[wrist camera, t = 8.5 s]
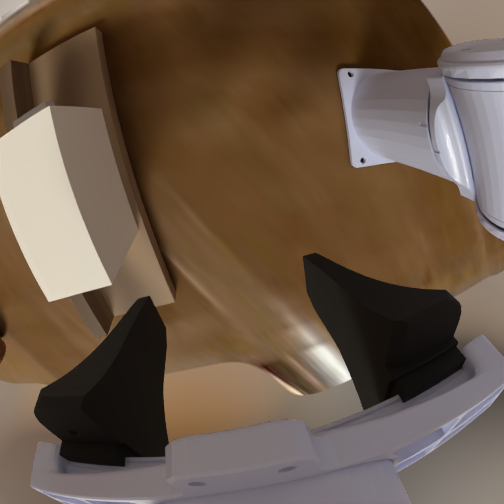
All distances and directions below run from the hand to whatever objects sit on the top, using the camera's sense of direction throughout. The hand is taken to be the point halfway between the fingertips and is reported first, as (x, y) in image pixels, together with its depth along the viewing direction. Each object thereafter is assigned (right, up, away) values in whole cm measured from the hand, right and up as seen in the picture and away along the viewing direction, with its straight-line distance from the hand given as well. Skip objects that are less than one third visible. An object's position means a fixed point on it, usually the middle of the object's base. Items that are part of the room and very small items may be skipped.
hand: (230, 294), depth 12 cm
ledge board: (-11, +7, +5) cm, 14 cm away
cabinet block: (-10, +7, +4) cm, 13 cm away
